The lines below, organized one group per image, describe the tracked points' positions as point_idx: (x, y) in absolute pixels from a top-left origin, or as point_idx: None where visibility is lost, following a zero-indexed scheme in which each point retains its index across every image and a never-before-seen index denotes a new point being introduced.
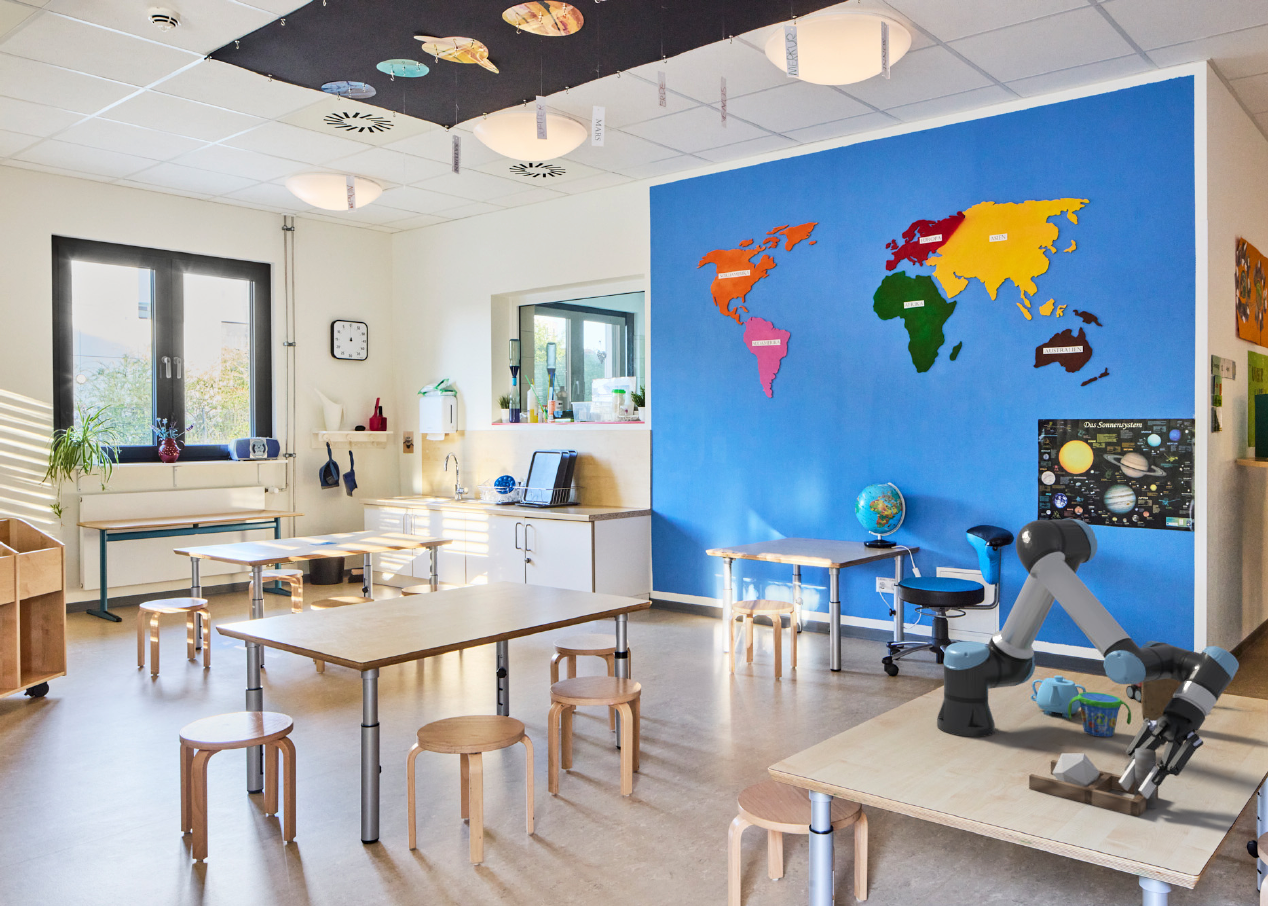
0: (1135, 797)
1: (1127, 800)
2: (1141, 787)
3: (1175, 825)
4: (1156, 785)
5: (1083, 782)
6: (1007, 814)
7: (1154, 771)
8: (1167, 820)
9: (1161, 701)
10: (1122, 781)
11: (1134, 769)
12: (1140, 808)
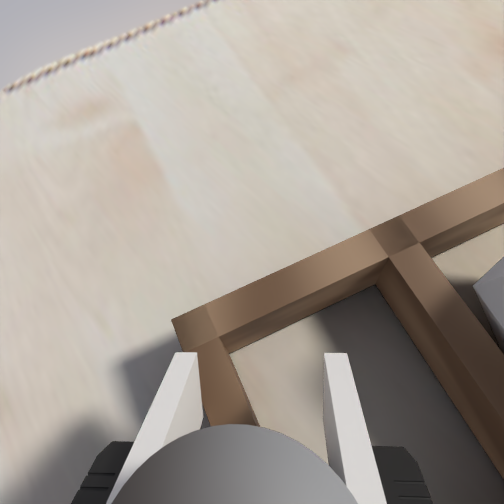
0: (225, 366)
1: (218, 298)
2: (182, 367)
3: (62, 434)
4: None
5: (488, 272)
6: (368, 3)
7: (114, 488)
8: None
9: None
10: (324, 361)
11: None
12: None
